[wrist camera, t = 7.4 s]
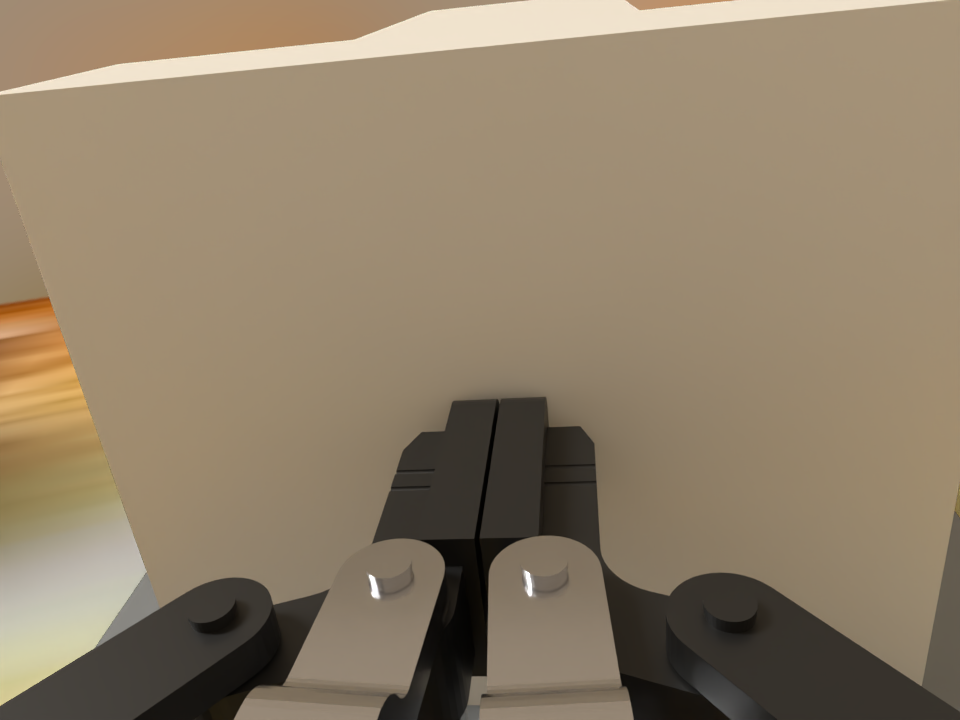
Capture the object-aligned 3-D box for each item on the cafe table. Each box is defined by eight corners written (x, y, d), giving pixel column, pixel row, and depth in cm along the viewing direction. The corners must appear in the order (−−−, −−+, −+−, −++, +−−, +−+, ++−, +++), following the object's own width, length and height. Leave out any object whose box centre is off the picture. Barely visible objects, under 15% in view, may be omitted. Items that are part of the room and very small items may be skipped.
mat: (-406, 1442, 9) (-436, 1423, 9) (336, 311, 37) (334, 299, 37) (1782, 1767, 6) (1829, 1753, 6) (786, 285, 35) (786, 272, 35)
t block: (193, 703, 17) (-22, 97, 11) (347, 397, 28) (274, 27, 23) (917, 708, 15) (1051, -11, 10) (763, 379, 26) (786, -27, 21)
